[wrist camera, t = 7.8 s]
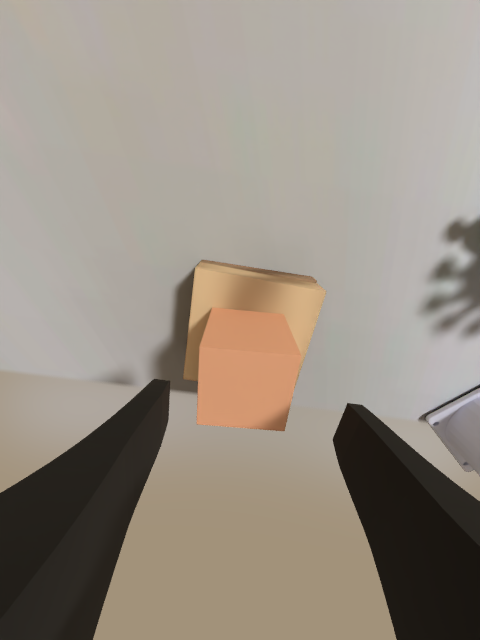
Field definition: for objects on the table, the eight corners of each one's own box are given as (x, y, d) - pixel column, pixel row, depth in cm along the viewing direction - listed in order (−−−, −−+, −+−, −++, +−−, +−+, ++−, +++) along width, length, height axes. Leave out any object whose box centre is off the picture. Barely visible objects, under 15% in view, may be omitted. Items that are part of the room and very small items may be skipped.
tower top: (317, 283, 17) (326, 291, 15) (287, 378, 20) (292, 395, 18) (200, 262, 16) (195, 267, 14) (188, 363, 19) (183, 379, 17)
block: (283, 314, 15) (301, 355, 11) (273, 373, 17) (284, 431, 12) (212, 307, 15) (199, 346, 11) (208, 368, 17) (196, 424, 12)
